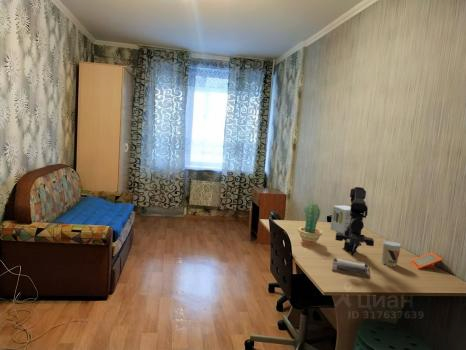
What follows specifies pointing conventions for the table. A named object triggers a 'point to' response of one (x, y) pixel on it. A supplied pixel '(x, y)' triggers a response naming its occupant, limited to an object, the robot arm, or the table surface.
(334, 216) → the supplement box
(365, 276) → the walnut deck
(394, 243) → the coffee cup
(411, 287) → the table surface
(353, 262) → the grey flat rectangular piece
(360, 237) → the robot arm
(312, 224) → the potted cactus
